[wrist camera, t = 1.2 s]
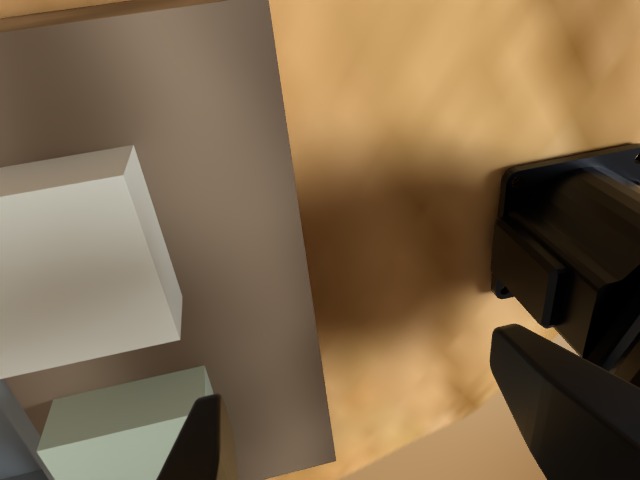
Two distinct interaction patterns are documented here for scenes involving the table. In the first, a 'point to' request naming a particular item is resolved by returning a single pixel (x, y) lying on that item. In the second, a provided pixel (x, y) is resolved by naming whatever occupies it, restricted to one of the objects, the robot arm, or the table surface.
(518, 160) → the table surface
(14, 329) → the cream tile
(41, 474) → the box
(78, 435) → the sage tile
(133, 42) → the taupe pedestal platform
